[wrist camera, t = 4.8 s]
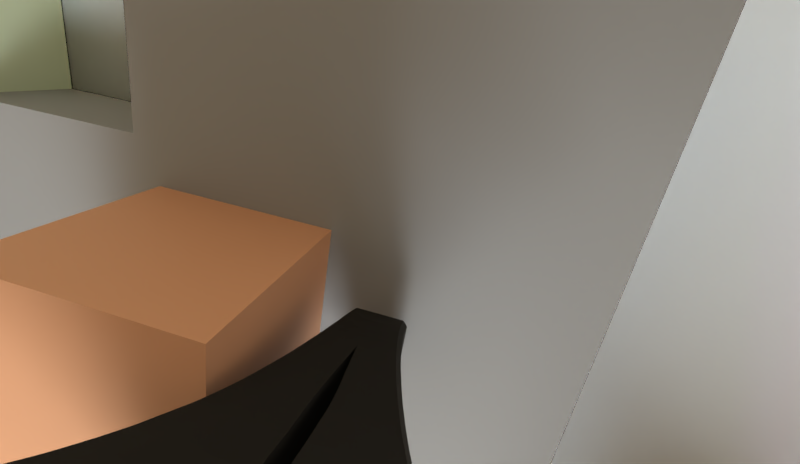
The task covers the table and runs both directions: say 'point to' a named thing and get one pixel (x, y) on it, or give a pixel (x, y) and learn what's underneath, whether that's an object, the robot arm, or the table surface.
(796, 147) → the table surface
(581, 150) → the board
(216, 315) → the block
